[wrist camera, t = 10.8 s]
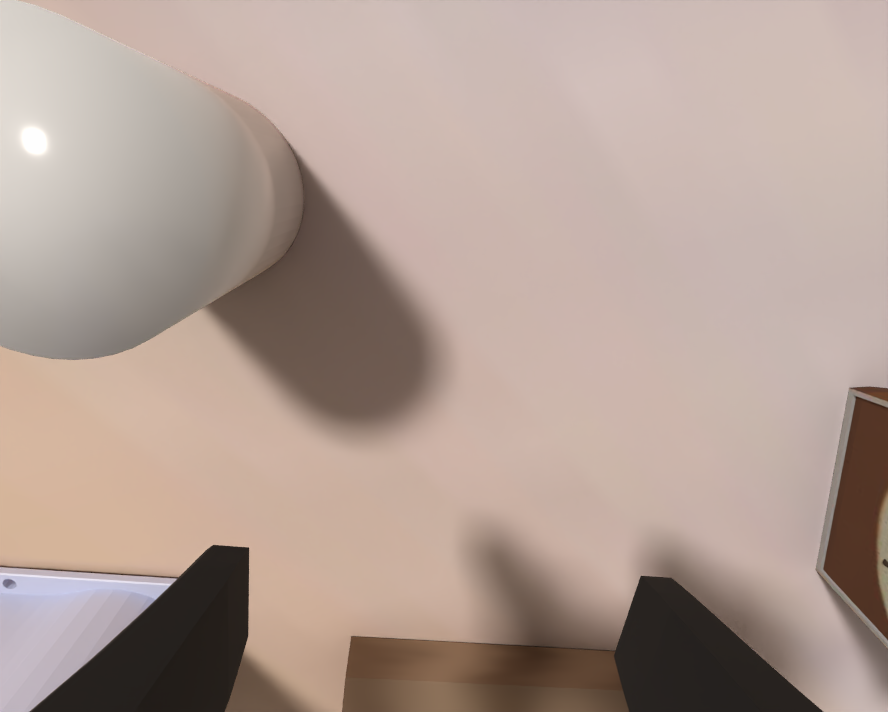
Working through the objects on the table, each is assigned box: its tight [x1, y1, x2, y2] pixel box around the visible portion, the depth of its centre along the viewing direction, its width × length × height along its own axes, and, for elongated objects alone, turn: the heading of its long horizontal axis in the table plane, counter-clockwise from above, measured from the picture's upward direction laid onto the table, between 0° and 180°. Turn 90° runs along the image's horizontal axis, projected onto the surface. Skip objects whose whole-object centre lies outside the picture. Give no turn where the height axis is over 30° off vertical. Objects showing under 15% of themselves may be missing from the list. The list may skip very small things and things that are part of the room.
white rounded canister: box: [0, 0, 304, 360], centre depth 12 cm, size 6×6×8 cm
